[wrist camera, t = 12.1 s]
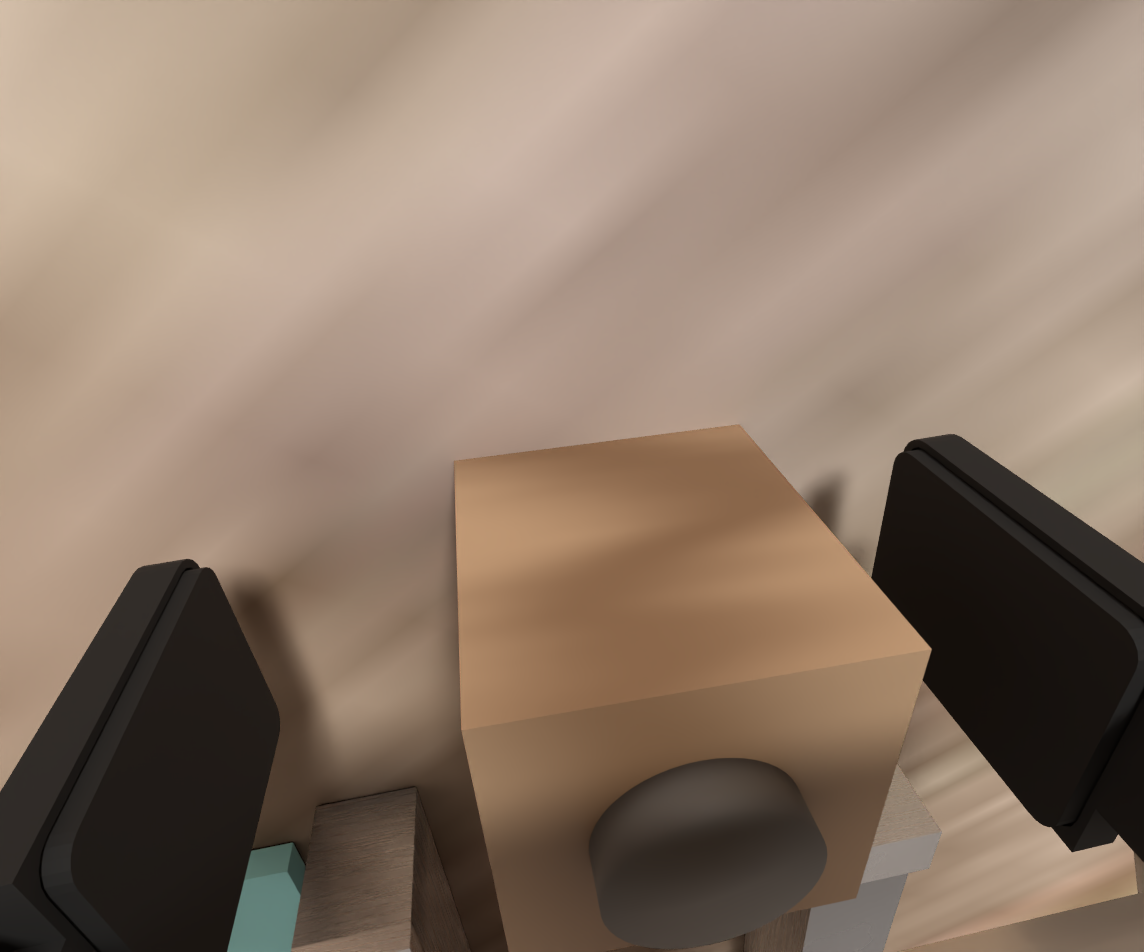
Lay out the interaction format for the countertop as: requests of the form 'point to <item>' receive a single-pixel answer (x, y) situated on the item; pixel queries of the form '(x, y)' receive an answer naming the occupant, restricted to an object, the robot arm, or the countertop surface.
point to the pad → (269, 901)
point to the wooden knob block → (669, 692)
